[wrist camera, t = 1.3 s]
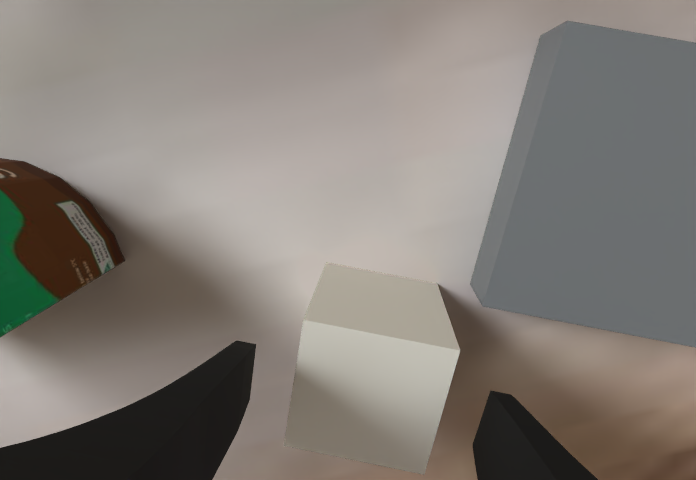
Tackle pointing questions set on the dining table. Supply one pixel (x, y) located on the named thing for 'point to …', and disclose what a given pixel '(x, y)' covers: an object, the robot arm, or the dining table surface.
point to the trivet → (599, 188)
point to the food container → (46, 242)
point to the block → (372, 369)
